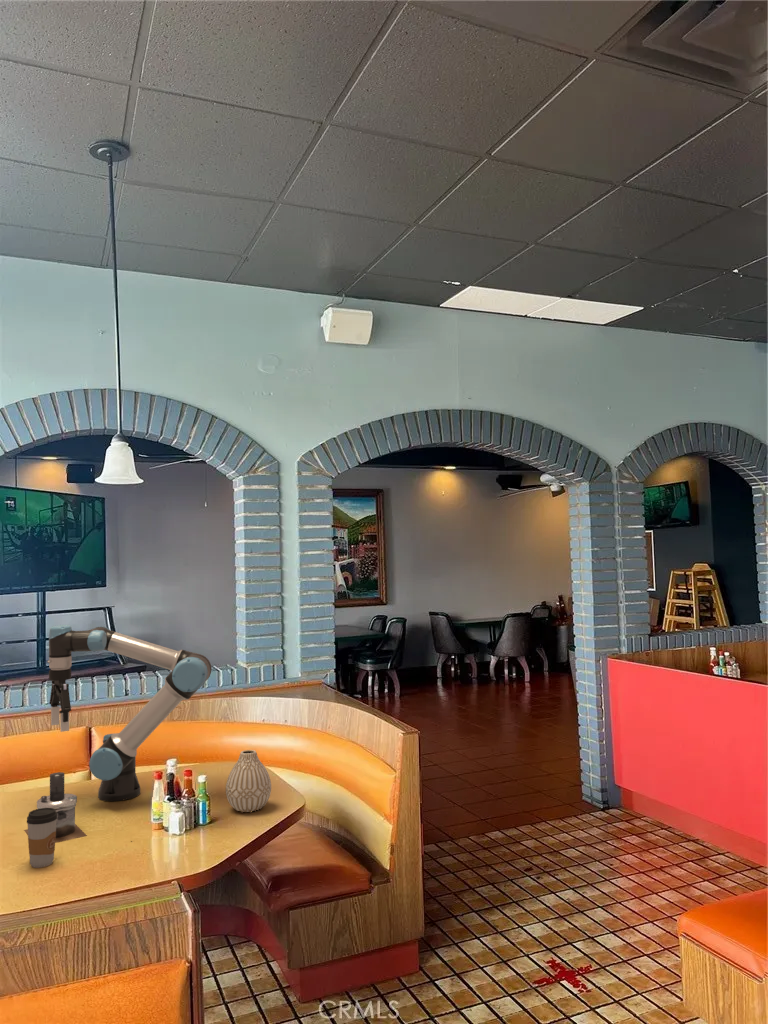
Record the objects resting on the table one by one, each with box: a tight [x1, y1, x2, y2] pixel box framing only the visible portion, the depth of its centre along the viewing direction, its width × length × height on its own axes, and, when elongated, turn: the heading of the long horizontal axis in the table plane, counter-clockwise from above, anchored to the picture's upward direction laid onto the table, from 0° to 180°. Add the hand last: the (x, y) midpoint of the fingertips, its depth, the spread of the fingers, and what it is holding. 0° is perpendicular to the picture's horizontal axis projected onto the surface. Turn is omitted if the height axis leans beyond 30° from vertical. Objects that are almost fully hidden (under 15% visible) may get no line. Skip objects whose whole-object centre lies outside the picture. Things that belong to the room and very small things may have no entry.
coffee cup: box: [26, 808, 57, 869], centre depth 228 cm, size 8×8×15 cm
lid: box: [36, 771, 78, 810], centre depth 252 cm, size 12×12×10 cm
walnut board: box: [23, 823, 88, 844], centre depth 251 cm, size 15×19×1 cm
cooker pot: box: [36, 803, 77, 838], centre depth 251 cm, size 16×12×9 cm
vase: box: [225, 749, 272, 813], centre depth 274 cm, size 16×16×20 cm
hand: (59, 727), depth 279 cm, fingers open, 13 cm apart
